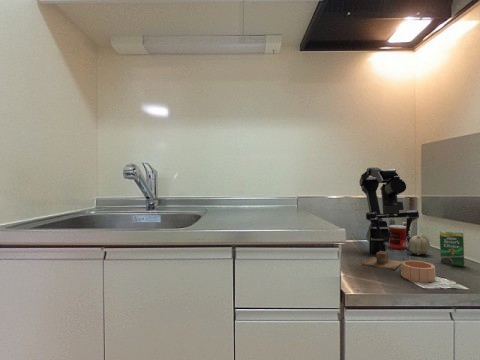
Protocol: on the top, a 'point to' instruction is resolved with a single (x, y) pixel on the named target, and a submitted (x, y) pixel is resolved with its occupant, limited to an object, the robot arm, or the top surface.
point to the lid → (382, 262)
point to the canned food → (397, 237)
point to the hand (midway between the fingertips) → (393, 237)
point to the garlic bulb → (419, 244)
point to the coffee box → (452, 248)
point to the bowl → (418, 271)
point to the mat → (383, 269)
